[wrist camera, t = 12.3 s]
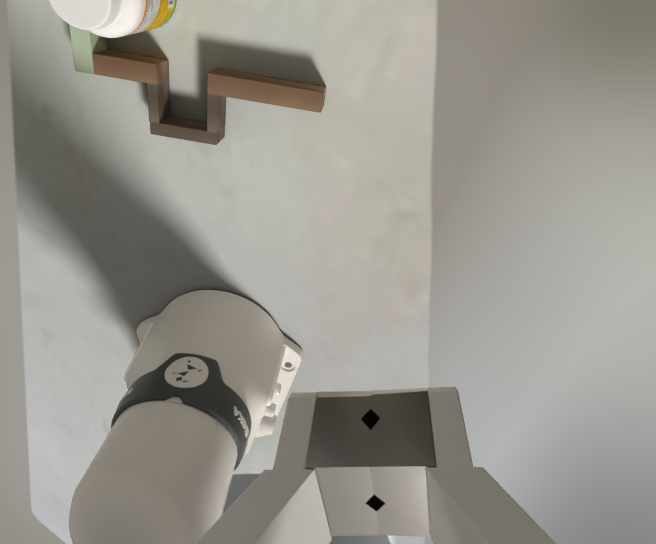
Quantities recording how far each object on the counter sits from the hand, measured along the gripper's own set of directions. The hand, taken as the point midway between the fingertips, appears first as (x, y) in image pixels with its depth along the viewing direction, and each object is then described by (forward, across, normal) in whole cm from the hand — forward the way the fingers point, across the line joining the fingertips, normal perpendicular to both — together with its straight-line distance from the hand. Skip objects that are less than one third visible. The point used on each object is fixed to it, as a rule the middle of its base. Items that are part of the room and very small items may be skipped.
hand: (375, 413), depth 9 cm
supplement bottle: (+34, +17, -9) cm, 39 cm away
